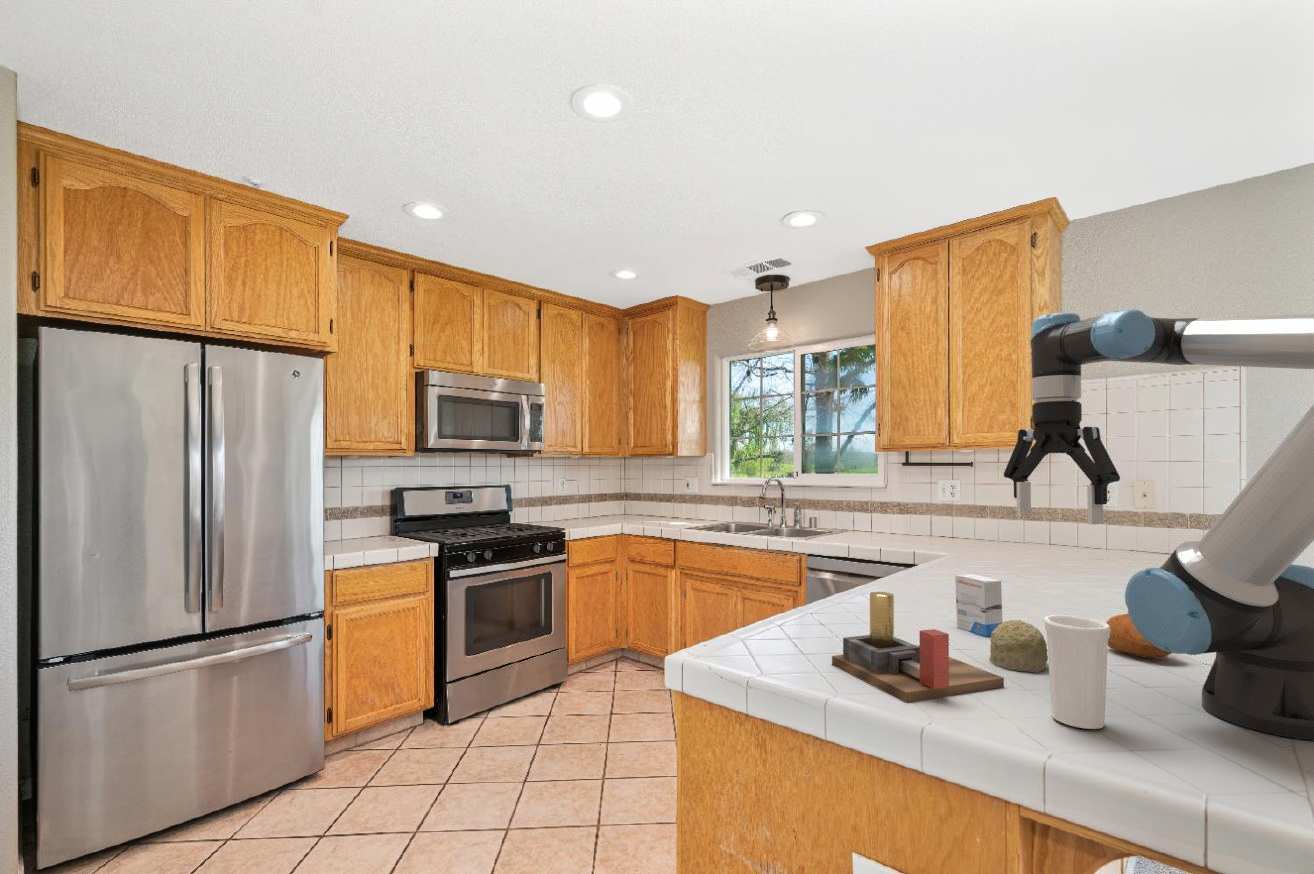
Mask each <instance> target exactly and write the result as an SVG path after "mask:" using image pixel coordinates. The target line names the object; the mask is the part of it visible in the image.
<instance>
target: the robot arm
mask: <svg viewBox="0 0 1314 874" xmlns="http://www.w3.org/2000/svg"><path fill="white" fill-rule="evenodd" d="M1030 337H1031V338H1030V340H1029V341H1030V345H1031V400H1033V401H1035V402H1034V403H1033V404H1032V405H1031V408H1032V409H1031V413H1032V414H1031V416H1032V417H1031V419H1032V423H1033V424H1034V429H1022V428H1021V429H1019V430H1018V432H1017V433H1018V434H1017V441H1016V444H1015V447H1014V449H1013V451H1012V454H1011V455H1010V458H1009V460H1008V463H1007V464H1006V468H1005V470H1004V472H1003V477H1004V478H1006V479H1010V480H1011V481H1012V482H1013V496H1014V499H1016V517H1017V518H1027V517H1028V518H1029V517H1030V518H1031V517H1032V490H1031V489H1032V487H1031V485H1032V484H1031V483H1032V482H1031V481H1030V480H1029V477H1030V476H1031V474H1032V473H1033V472H1034V471H1035V470H1036V468H1037V467H1038V466H1039V464H1040V463H1041V461H1042V460H1043V459H1044V458H1045V457H1046V456H1047V455H1049V454H1066V455H1067V456H1070V458H1071V459H1072V461H1074V463H1075V464H1076V465H1077V466H1078V468H1079V469H1080V470H1081V471H1082V473H1083V474H1084V475H1085V476H1086V477H1087V478H1088V480H1089V481H1090V483H1089V484H1088V485H1087V486H1086V487H1087V489H1086V490H1087V491H1086V492H1087V495H1086V496H1087V497H1086V498H1087V503H1086V504H1087V525H1104V505H1108V486H1109V485H1110V484H1112V483H1116V482H1117V483H1118V482H1119V481H1120V480H1121V476H1120V474H1119V472H1118V470H1117V469H1116V467H1115V464H1114V463H1113V460H1112V459H1111V456H1110V455H1109V453H1108V451H1107V449H1106V448H1105V445H1104V443H1103V441H1102V440H1101V431H1100V428H1099V427H1098V426H1084V427H1082V428H1081V426H1080V425H1081V422H1082V419H1083V417H1082V413H1083V411H1082V407H1083V406H1082V403H1081V401H1078V400H1080V399H1081V398H1082V365H1087V364H1093V363H1094V364H1095V363H1100V362H1121V363H1122V362H1123V363H1142V364H1143V363H1149V364H1163V365H1172V366H1173V365H1174V366H1175V365H1176V366H1185V365H1190V366H1191V365H1195V366H1196V365H1201V366H1225V367H1246V368H1247V367H1248V368H1271V369H1273V368H1274V369H1295V370H1296V369H1297V370H1298V369H1299V370H1300V369H1301V370H1314V314H1313V313H1311V314H1286V315H1285V314H1283V315H1257V316H1256V315H1255V316H1254V315H1251V316H1227V317H1226V316H1222V317H1187V318H1186V317H1185V318H1184V317H1183V318H1179V317H1178V318H1169V317H1167V318H1166V317H1165V318H1163V317H1150V316H1149V315H1147V314H1146V313H1144V312H1143V311H1142V310H1139V309H1126V310H1115V311H1110V312H1109V313H1105V314H1102V315H1101V314H1100V315H1098V316H1094V317H1090V318H1086V319H1082V320H1081V317H1080V315H1079V314H1077V313H1075V312H1055V313H1054V312H1053V313H1051V314H1043V315H1040V316H1037V318H1035V319H1034V320H1033V322H1032V324H1031V336H1030ZM1311 405H1312V406H1310V408H1309V409H1308V410H1307V412H1306V413H1305V414H1304V415H1303V416H1302V418H1301V419H1300V420H1299V421H1298V422H1297V424H1295V426H1294V427H1293V428H1292V430H1291V431H1290V432H1289V433H1288V434H1287V435H1286V437H1285V438H1284V439H1283V441H1282V442H1280V444H1278V446H1277V448H1276V449H1275V450H1274V451H1273V452H1272V454H1271V455H1270V456H1269V457H1268V458H1267V460H1266V461H1265V462H1264V463H1263V464H1262V465H1261V467H1260V468H1259V470H1258V471H1257V472H1256V473H1255V474H1254V476H1253V477H1252V478H1251V479H1250V480H1249V481H1248V483H1246V485H1245V486H1244V487H1243V489H1241V491H1240V492H1239V494H1238V495H1237V496H1236V497H1235V498H1234V499H1233V500H1232V502H1231V503H1230V504H1229V506H1228V507H1227V508H1226V509H1225V510H1224V511H1223V512H1222V514H1221V515H1220V516H1219V517H1218V519H1216V521H1215V522H1214V523H1213V525H1212V526H1211V527H1210V528H1209V529H1208V531H1207V532H1206V533H1205V534H1204V536H1202V538H1200V540H1197V541H1184V542H1182V543H1180V544H1179V545H1178V546H1177V547H1176V548H1175V549H1174V551H1173V552H1172V553H1171V554H1170V555H1169V557H1168V558H1167V559H1166V560H1165V562H1164V563H1163V565H1161V566H1160V567H1147V568H1145V569H1143V570H1142V569H1141V570H1139V571H1138V572H1136V573H1134V574H1133V575H1132V576H1131V578H1130V579H1129V580H1128V582H1127V584H1126V587H1125V591H1124V592H1125V593H1124V601H1125V602H1124V604H1125V605H1126V608H1127V614H1129V617H1130V619H1131V621H1132V623H1133V625H1134V626H1135V628H1136V629H1137V630H1138V632H1139V633H1140V634H1141V635H1142V636H1143V637H1144V638H1145V639H1146V640H1147V641H1148V642H1150V643H1151V644H1152V645H1154V646H1156V647H1157V648H1159V649H1161V650H1164V651H1167V652H1170V653H1171V654H1177V655H1178V654H1179V655H1180V654H1181V655H1184V654H1186V655H1188V656H1197V655H1201V654H1210V653H1211V654H1212V653H1215V658H1214V661H1213V663H1212V666H1211V668H1210V670H1209V672H1208V674H1207V677H1206V680H1205V682H1204V684H1203V686H1202V689H1201V706H1202V708H1203V709H1204V710H1205V711H1207V712H1208V713H1210V714H1211V715H1213V716H1215V717H1217V718H1219V719H1221V720H1224V721H1226V722H1229V723H1232V724H1235V725H1237V726H1241V727H1243V728H1244V727H1245V728H1248V729H1250V730H1254V731H1259V732H1263V733H1266V734H1271V735H1275V736H1281V737H1285V738H1286V737H1287V738H1293V739H1299V740H1308V741H1314V567H1312V566H1307V565H1299V564H1292V563H1294V561H1296V559H1297V558H1298V557H1299V556H1300V555H1301V554H1302V553H1304V552H1305V550H1306V549H1307V548H1308V547H1309V546H1310V545H1311V544H1312V543H1313V542H1314V403H1313V404H1311ZM1081 439H1082V440H1083V442H1084V445H1085V446H1086V449H1087V450H1088V452H1089V454H1090V456H1091V457H1090V456H1089V455H1088V454H1087V453H1086V449H1085V447H1084V446H1083V445H1082V444H1081V443H1080V440H1081ZM1033 441H1035V443H1034V444H1033Z"/></svg>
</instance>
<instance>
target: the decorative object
mask: <svg viewBox="0 0 1314 874" xmlns="http://www.w3.org/2000/svg"><path fill="white" fill-rule="evenodd" d="M1002 622H1003V623H1001V624H999V625H998V627H997V628H996V629H995V630H994V631H992V634H991V636H990V645H989V646H990V650H989V652H990V656H989V662H990V663H991V664H993V665H994V666H998V667H1001V668H1004V669H1008V670H1011V671H1017V672H1026V673H1027V672H1028V673H1039V672H1043V671H1045V669H1046V668H1047V664H1048V661H1049V660H1048V645H1047V641H1046V639H1045V637H1044V635H1043V634H1042V632H1041V630H1039V629H1038V627H1035V626H1034V625H1033V624H1032V623H1029V622H1028V623H1027V622H1025V621H1024V620H1023V621H1022V620H1021V619H1015V620H1014V619H1011V620H1010V619H1009V620H1004V621H1002Z"/></svg>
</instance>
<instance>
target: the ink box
mask: <svg viewBox="0 0 1314 874" xmlns="http://www.w3.org/2000/svg"><path fill="white" fill-rule="evenodd" d="M1002 596H1003V595H1002V580H1000V579H995V578H990V577H987V576H982V575H977V574H973V573H969V574H967V573H965V574H956V575H955V603H956V604H955V607H956V628H957V629H961V630H964V631H967V632H970V633H973V634H977V635H980V636H982V637H984V638H988V637H989V638H990V637H991V634H992V631H994V630H995V629H996V628H997V627H998V625H999V624H1001V623H1003V622H1004V621H1003V602H1002V601H1003V599H1002V598H1003V597H1002Z"/></svg>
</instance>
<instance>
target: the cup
mask: <svg viewBox="0 0 1314 874" xmlns="http://www.w3.org/2000/svg"><path fill="white" fill-rule="evenodd" d="M1043 622H1044V629H1045V631H1046V640H1047V641H1046V644H1047V650H1048V651H1047V655H1048V660H1047V661H1048V672H1049V673H1048V674H1049V685H1050V686H1049V688H1050V689H1049V690H1050V703H1051V705H1050V706H1051V716H1052V718H1053V719H1055V720H1056V721H1058V722H1060V723H1063V724H1064V725H1067V726H1071V727H1073V728H1081V729H1086V730H1087V729H1089V730H1098V729H1102V728H1103V727H1105V716H1106V714H1105V713H1106V696H1107V695H1106V694H1107V674H1108V673H1107V671H1108V669H1107V668H1108V652H1109V651H1108V650H1109V649H1108V648H1109V646H1108V639H1109V638H1110V631H1111V628H1110V626H1109V625H1108V624H1107V623H1106V622H1105V621H1102V620H1100V619H1099V620H1098V619H1095V618H1090V617H1084V616H1077V615H1070V614H1069V615H1067V614H1066V615H1064V614H1053V615H1050V614H1049V615H1047V616H1044V618H1043Z"/></svg>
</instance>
